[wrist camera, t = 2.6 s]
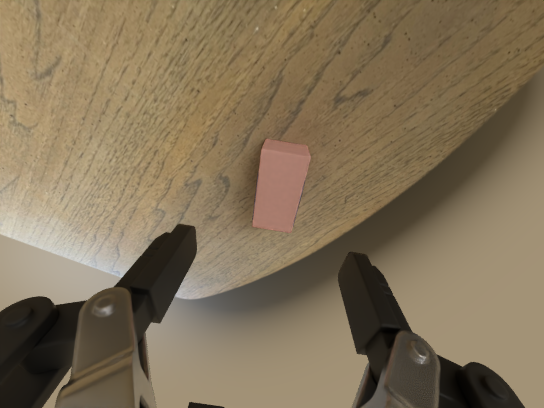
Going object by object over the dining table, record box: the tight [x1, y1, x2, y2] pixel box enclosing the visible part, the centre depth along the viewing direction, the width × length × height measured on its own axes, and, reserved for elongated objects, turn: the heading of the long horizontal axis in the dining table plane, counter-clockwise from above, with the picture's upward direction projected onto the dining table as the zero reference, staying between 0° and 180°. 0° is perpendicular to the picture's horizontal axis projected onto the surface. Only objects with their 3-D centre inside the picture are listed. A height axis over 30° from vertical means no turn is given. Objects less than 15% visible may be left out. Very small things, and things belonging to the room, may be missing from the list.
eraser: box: [252, 139, 311, 233], centre depth 17 cm, size 4×7×3 cm, turn 171°
